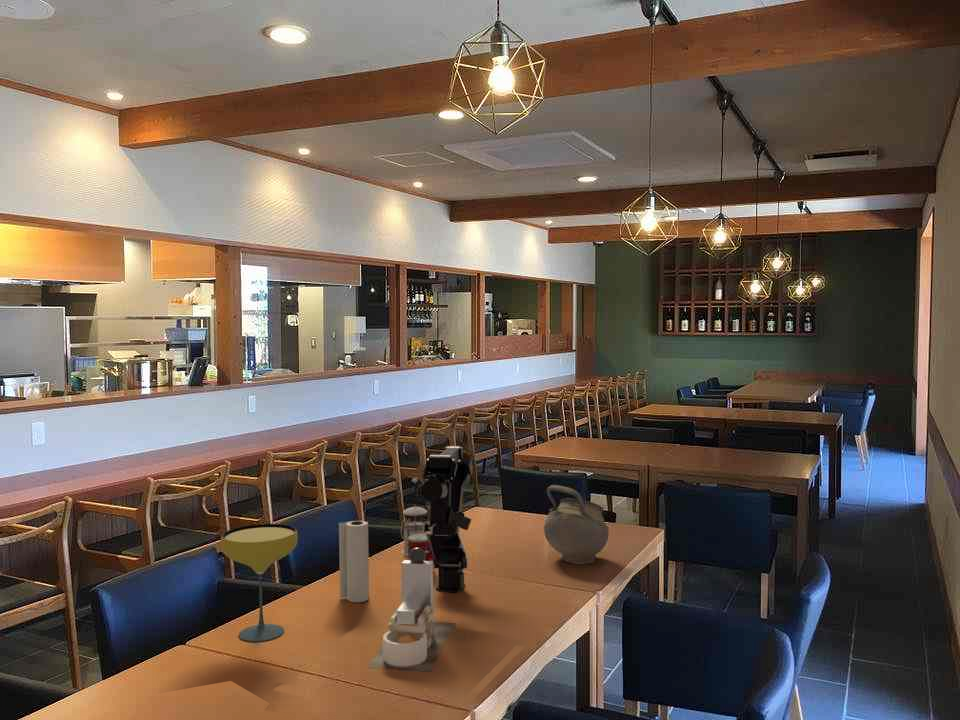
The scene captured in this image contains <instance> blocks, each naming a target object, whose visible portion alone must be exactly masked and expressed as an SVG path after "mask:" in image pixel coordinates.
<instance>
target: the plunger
mask: <svg viewBox="0 0 960 720" xmlns="http://www.w3.org/2000/svg"><path fill="white" fill-rule="evenodd" d="M425 557H426V554H425V551H424V550H423V549H422V548H420V547H415V548H413V549H412V550H411V551H410V552H409V560H408V559H404V560H403V561H402V562H401V604H402V605H401V604H400V605H401V606H400V605H399V606H400V607H399V606H398V608H399V609H398V608H397V609H398V610H397V609H396V610H397V624H407V625H415V623H416V622H417V620H418V618H419V617H420V615H421V614H422V612H423V610H424V609H425V607H426V606H427V605H430V612H432V622H433V635H434V622H435V621H434V617H435V616H434V570H433V561H424V560H425Z"/></svg>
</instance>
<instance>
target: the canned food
mask: <svg viewBox="0 0 960 720" xmlns="http://www.w3.org/2000/svg"><path fill="white" fill-rule="evenodd" d="M415 547H420V548H422V549H423V550H424V551H425V554H426V557H425V560H424V561H433V571H434V570H435V567H434V558H433V552H432V550H431V547H430V544H429V541H428V539H427V536H426V534H425V533H421V534H413V535H410V536H409V535H408V556H407V557H408V559H407V560H409V552H410V551H411V550H412V549H413V548H415Z"/></svg>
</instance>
